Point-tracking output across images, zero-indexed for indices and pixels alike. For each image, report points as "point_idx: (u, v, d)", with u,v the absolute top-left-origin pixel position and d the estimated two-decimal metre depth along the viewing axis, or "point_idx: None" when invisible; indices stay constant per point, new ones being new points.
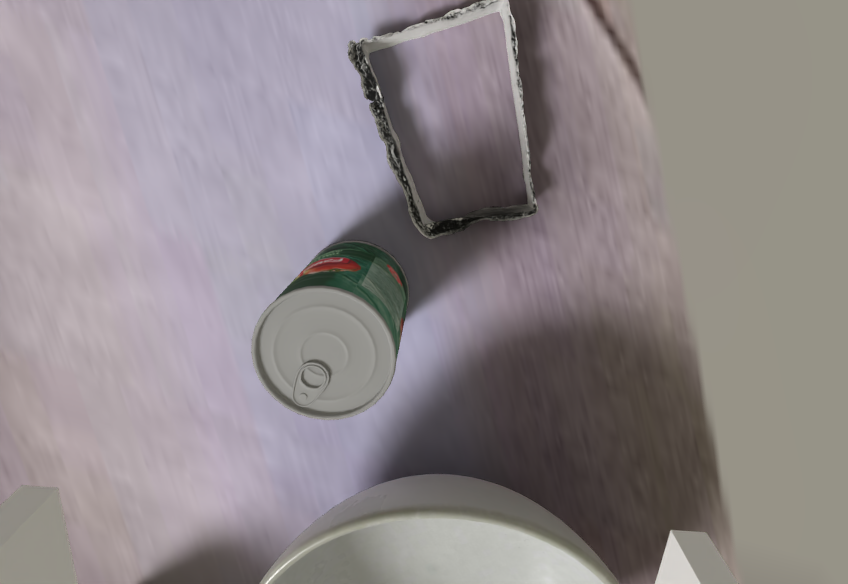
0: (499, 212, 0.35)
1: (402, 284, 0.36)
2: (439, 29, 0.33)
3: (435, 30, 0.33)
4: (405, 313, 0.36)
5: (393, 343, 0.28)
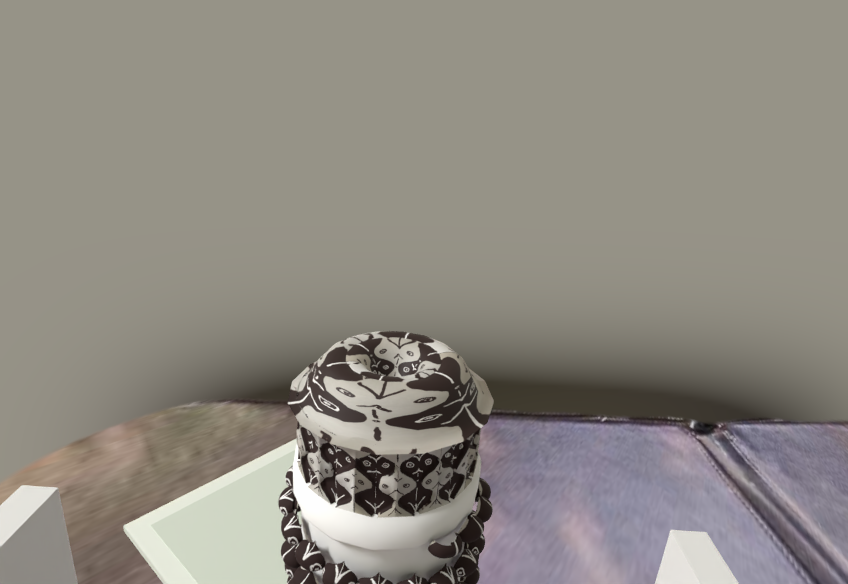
0: None
1: None
2: None
3: None
4: None
5: None
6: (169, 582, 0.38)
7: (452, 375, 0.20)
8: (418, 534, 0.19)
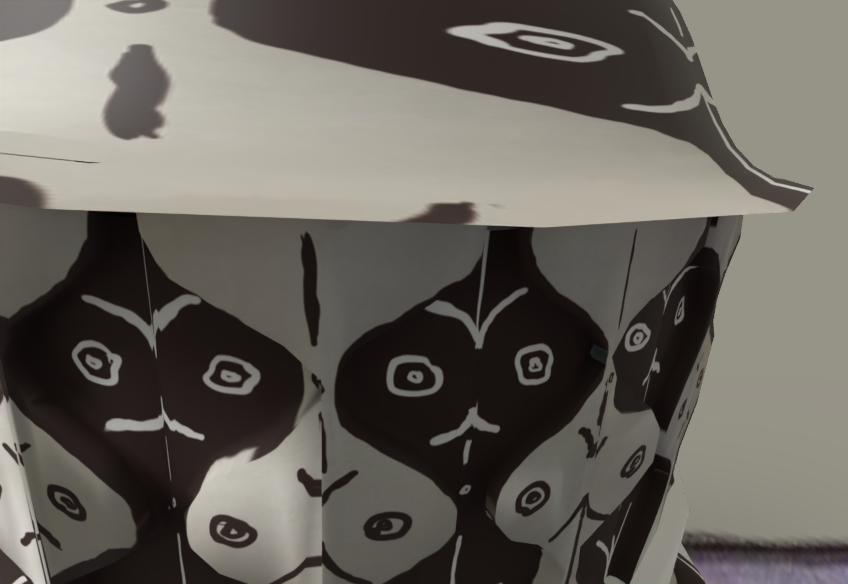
0: None
1: None
2: None
3: None
4: None
5: None
6: None
7: None
8: None
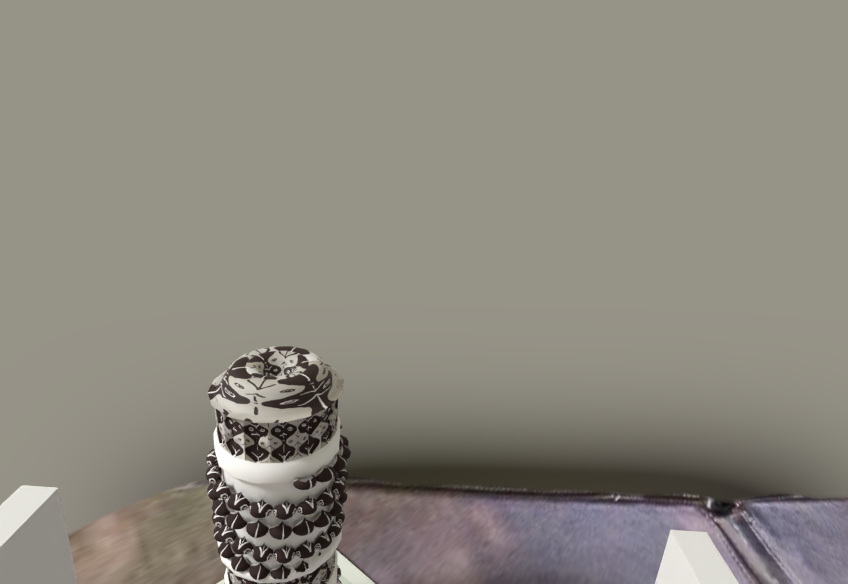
0: None
1: None
2: None
3: None
4: None
5: None
6: None
7: (310, 375, 0.31)
8: (286, 474, 0.31)
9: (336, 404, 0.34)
